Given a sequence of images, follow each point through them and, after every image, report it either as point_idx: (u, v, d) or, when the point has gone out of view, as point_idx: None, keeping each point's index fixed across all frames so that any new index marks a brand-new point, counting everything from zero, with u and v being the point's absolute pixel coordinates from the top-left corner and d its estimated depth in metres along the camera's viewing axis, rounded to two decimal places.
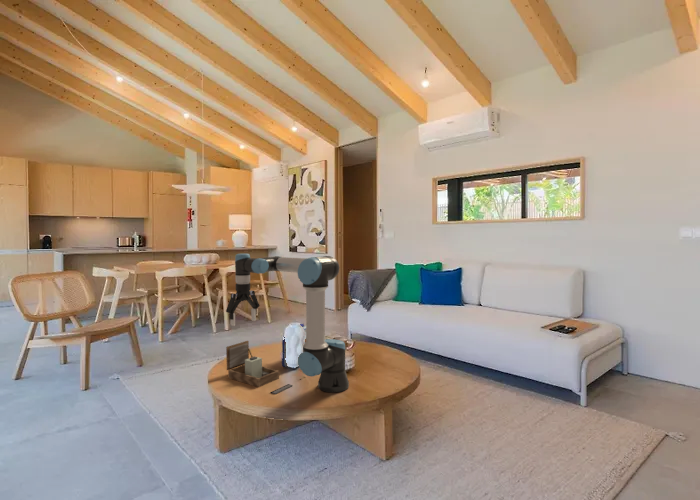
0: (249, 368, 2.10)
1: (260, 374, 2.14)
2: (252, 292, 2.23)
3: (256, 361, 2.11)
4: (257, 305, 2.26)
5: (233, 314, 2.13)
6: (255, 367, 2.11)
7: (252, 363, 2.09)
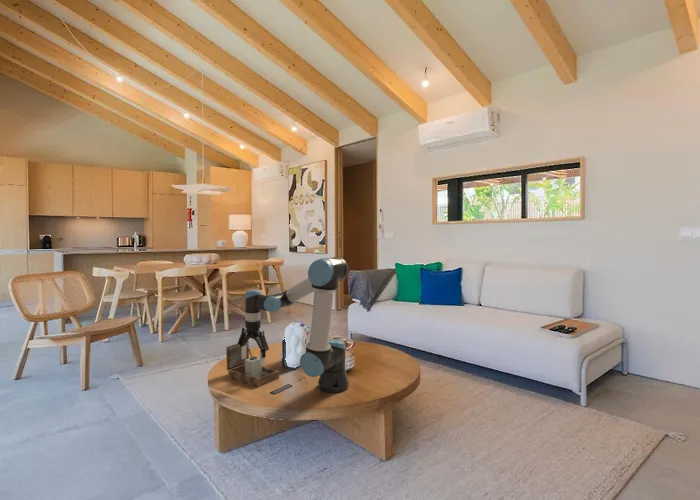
0: (249, 368, 2.10)
1: (260, 374, 2.14)
2: None
3: (256, 361, 2.11)
4: (263, 349, 2.07)
5: None
6: (255, 367, 2.11)
7: (252, 363, 2.09)
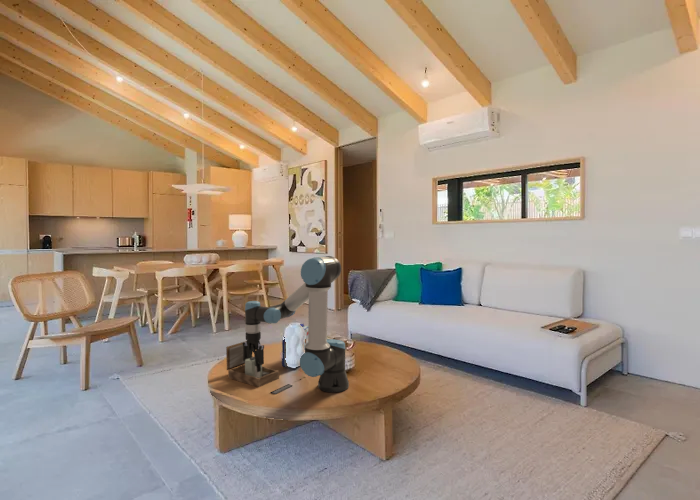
0: (249, 368, 2.10)
1: (260, 374, 2.14)
2: None
3: None
4: None
5: None
6: None
7: (252, 363, 2.09)
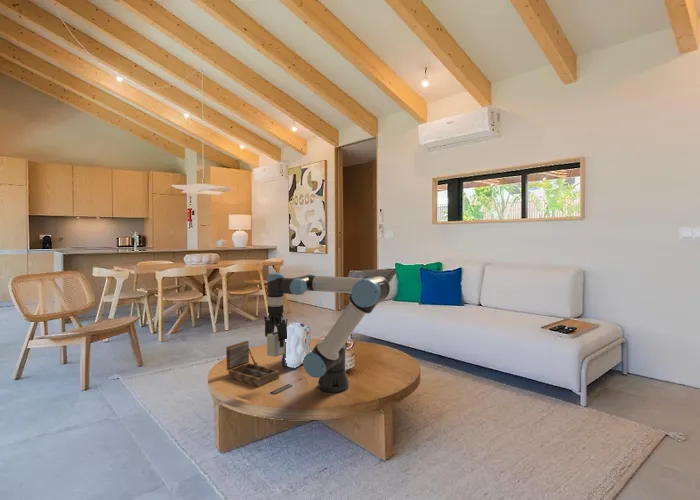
0: (271, 343, 1.99)
1: (283, 350, 2.03)
2: None
3: None
4: None
5: None
6: (277, 342, 1.99)
7: (275, 338, 1.98)
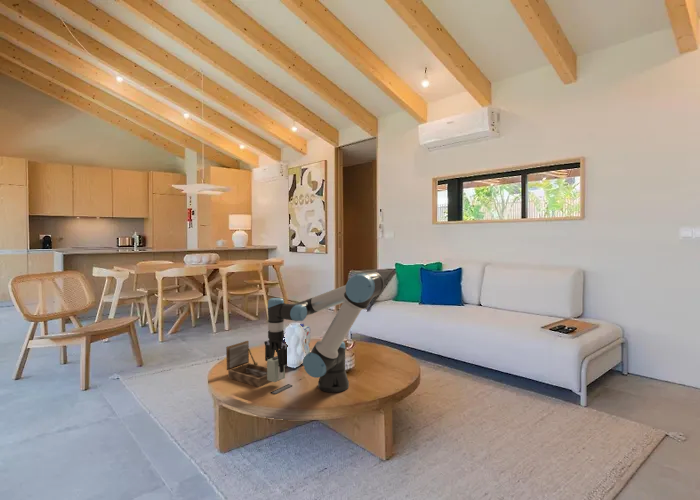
0: (271, 368, 1.99)
1: (283, 375, 2.03)
2: (283, 346, 1.98)
3: None
4: (282, 362, 1.99)
5: None
6: (277, 367, 2.00)
7: (275, 363, 1.99)
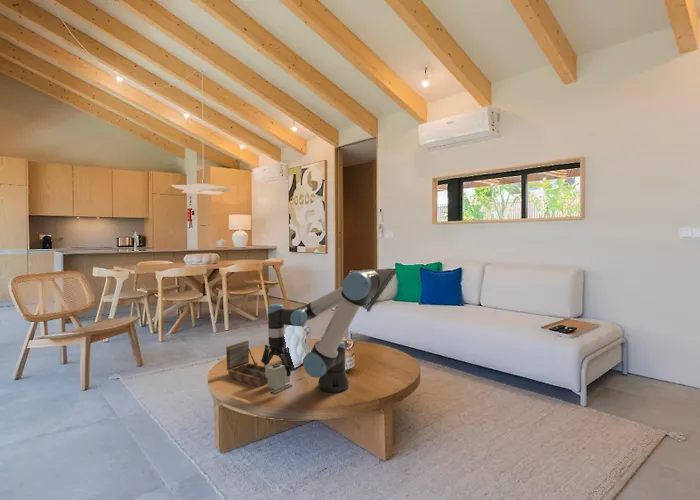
0: (272, 376, 1.99)
1: (283, 382, 2.04)
2: (284, 349, 1.98)
3: (279, 369, 2.01)
4: (288, 366, 1.97)
5: None
6: (278, 375, 2.00)
7: (275, 371, 1.99)
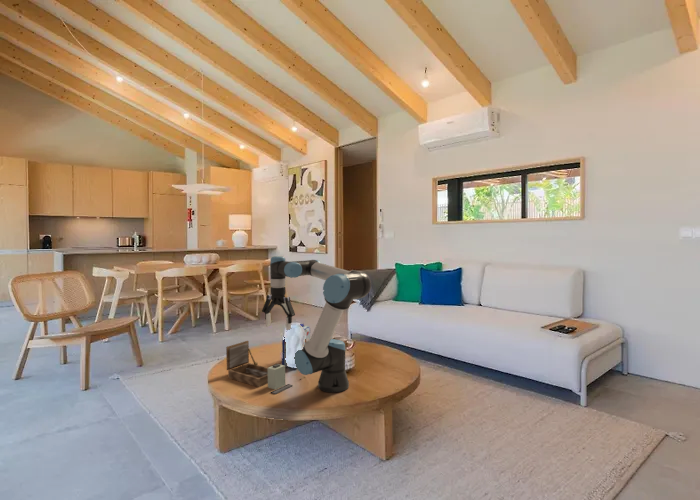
0: (272, 376, 1.99)
1: (283, 382, 2.04)
2: None
3: (279, 369, 2.01)
4: (290, 314, 2.08)
5: (266, 315, 2.16)
6: (278, 375, 2.00)
7: (275, 371, 1.99)
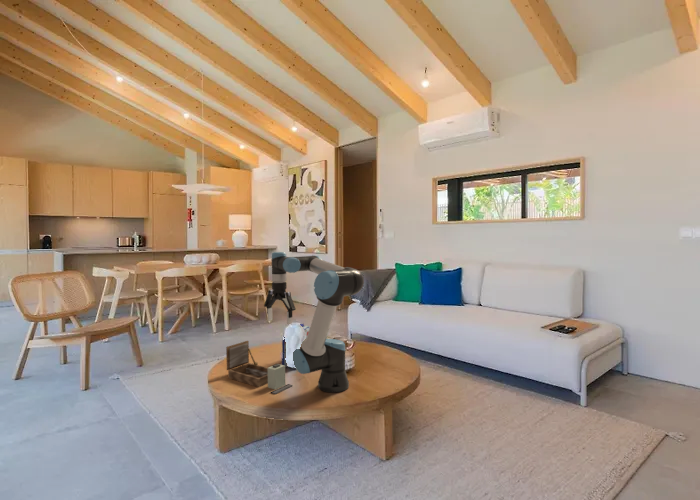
0: (272, 376, 1.99)
1: (283, 382, 2.04)
2: (286, 293, 2.13)
3: (279, 369, 2.01)
4: (290, 308, 2.12)
5: (268, 309, 2.21)
6: (278, 375, 2.00)
7: (275, 371, 1.99)
